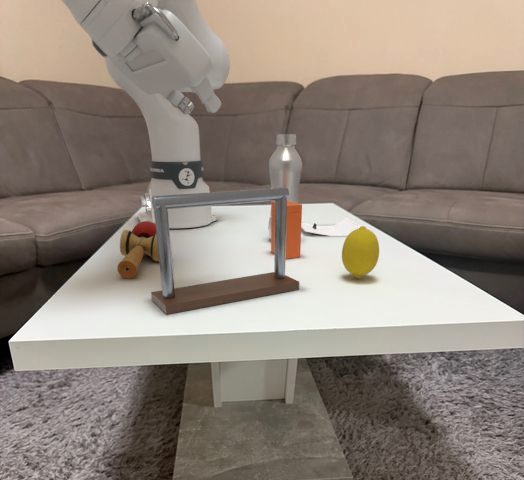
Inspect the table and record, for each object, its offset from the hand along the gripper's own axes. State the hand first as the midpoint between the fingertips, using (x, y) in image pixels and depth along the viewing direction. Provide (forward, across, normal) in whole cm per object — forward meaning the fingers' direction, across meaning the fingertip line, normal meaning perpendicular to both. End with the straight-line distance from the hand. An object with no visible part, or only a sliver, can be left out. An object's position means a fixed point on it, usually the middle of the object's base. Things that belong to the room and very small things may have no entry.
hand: (202, 110), depth 64 cm
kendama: (+11, +10, +22) cm, 27 cm away
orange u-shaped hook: (+28, +3, +5) cm, 29 cm away
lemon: (+30, -15, +4) cm, 33 cm away
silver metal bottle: (+32, +13, +1) cm, 35 cm away
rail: (+15, -12, +18) cm, 26 cm away
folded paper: (+42, +17, -9) cm, 47 cm away
